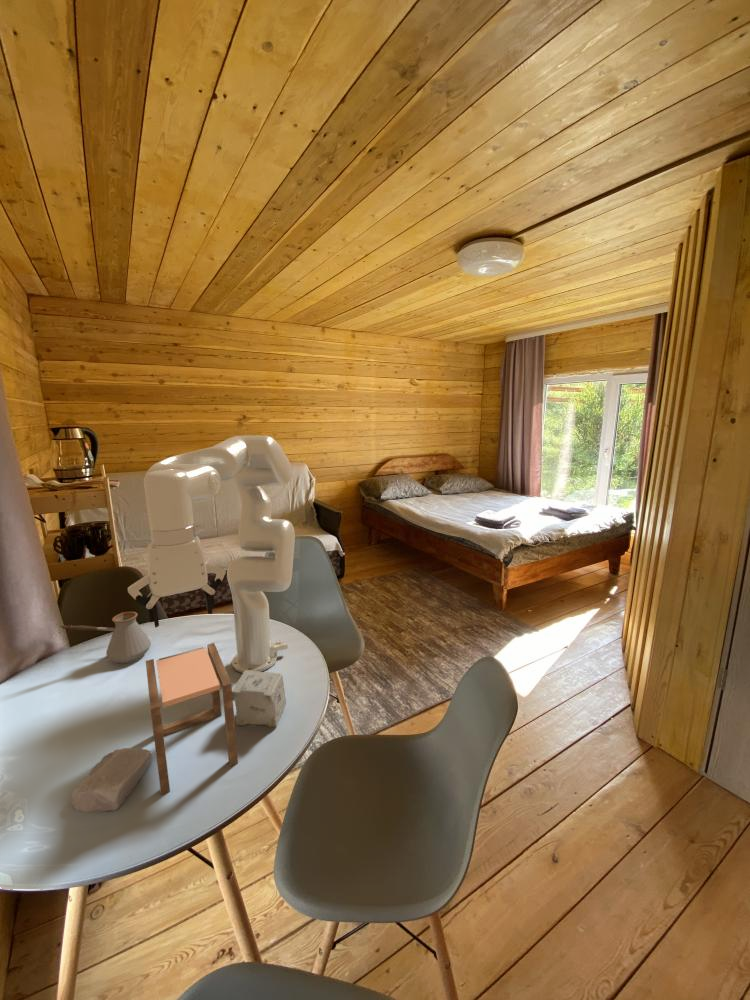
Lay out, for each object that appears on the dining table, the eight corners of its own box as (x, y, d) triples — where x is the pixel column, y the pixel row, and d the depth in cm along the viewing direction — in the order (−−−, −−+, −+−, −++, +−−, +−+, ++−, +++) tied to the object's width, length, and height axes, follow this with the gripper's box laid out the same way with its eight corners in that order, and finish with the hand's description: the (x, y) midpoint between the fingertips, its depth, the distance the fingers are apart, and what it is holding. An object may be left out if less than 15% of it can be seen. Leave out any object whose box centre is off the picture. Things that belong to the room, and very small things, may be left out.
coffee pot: (147, 642, 132) (141, 598, 129) (155, 657, 123) (150, 610, 120) (64, 667, 118) (56, 619, 115) (67, 686, 109) (58, 634, 107)
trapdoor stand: (220, 711, 99) (214, 642, 96) (237, 763, 84) (231, 683, 81) (154, 734, 92) (145, 660, 89) (161, 795, 77) (150, 709, 74)
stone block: (68, 821, 74) (120, 813, 73) (60, 797, 74) (112, 789, 73) (113, 768, 86) (158, 761, 85) (106, 748, 85) (151, 740, 85)
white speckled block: (232, 729, 94) (229, 687, 92) (249, 704, 102) (246, 666, 100) (273, 733, 92) (271, 691, 90) (287, 708, 100) (285, 669, 98)
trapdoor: (204, 652, 97) (203, 642, 96) (220, 696, 81) (219, 684, 81) (156, 665, 91) (155, 654, 91) (164, 714, 76) (162, 702, 76)
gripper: (217, 523, 86) (224, 599, 90) (120, 537, 77) (133, 621, 81) (225, 532, 80) (232, 613, 83) (120, 548, 71) (134, 638, 75)
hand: (183, 617), depth 82 cm, fingers open, 9 cm apart
